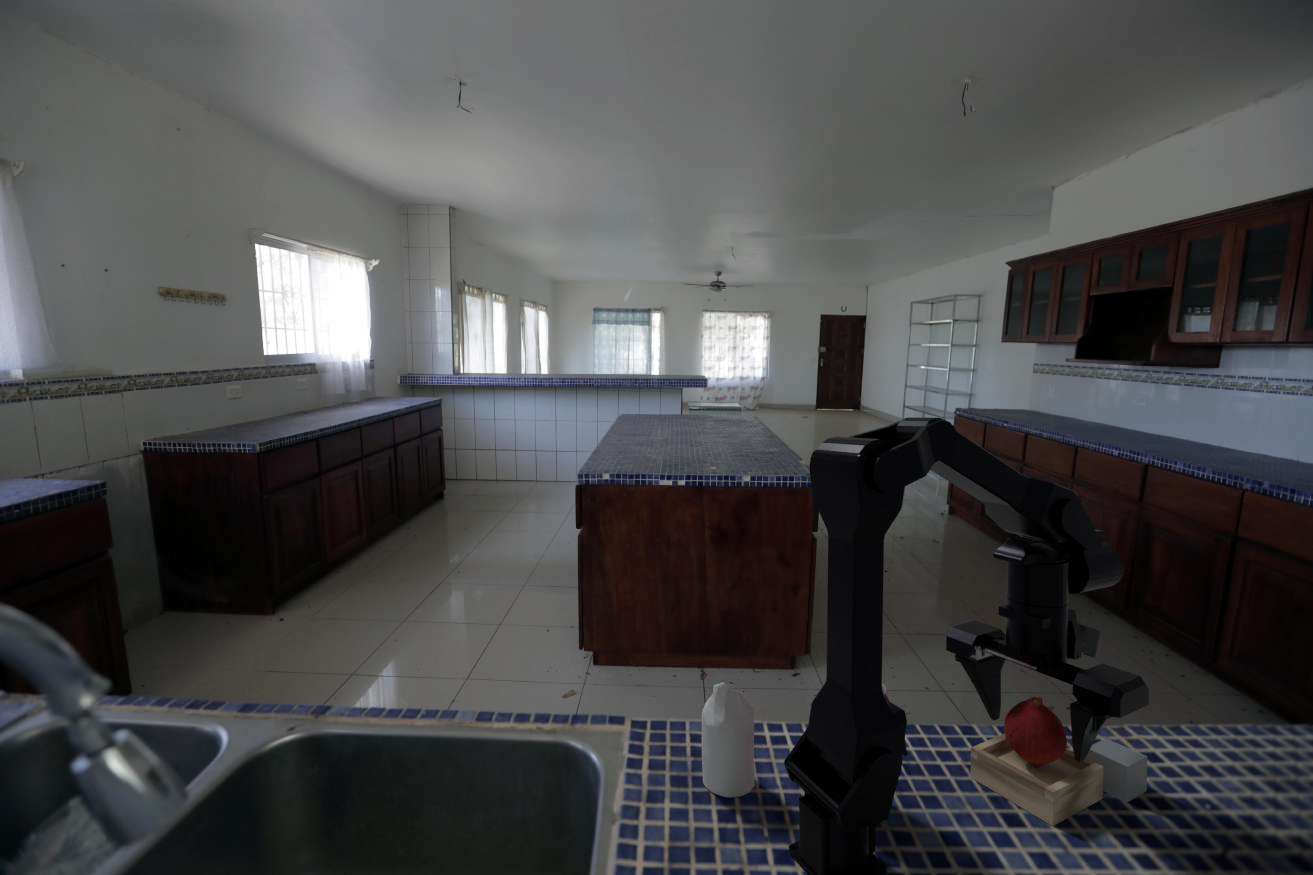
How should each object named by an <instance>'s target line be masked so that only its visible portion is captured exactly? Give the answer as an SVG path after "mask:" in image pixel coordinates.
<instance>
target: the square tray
mask: <svg viewBox="0 0 1313 875" xmlns="http://www.w3.org/2000/svg"><path fill="white" fill-rule="evenodd" d="M1103 768H1104V767H1103V766H1101V765H1099V764H1097V763H1094V762H1092V761H1090V760H1088V759H1086V758H1085V759H1084V760H1083V761H1081V762H1078V761H1076V760H1075V756H1074V752H1073V751H1072V750H1070V749H1067V748H1066V750H1065V752H1064V753H1063V755H1062V756H1061V757H1060V758H1059V759H1058V760H1056V761H1054V762H1051V763H1048V764H1045V765H1043V766H1041V767H1034V766H1033V765H1031V764H1030V763H1029V762H1027V761H1026V760H1024V759H1023V758H1022V757H1020V756H1019V755H1018V754H1017V753H1016V752H1015V751H1014V750H1013V749H1012V748H1011V747H1010V745H1009V744H1008V742H1007V740H1006V738H1005V733H1003V734H1000V735H998V736H995V737H993V738H991V739H988V740H985V741H983V742H980V743H978V744H976V745H974V746H971V747H970V778H971V779H973V780H974V781H976V782H978V783H979V784H981V785H982V786H985V787H987V789H989V790H991V791H993V792H995V793H997V794H998V795H1000V796H1001V797H1003V798H1005V799H1007V801H1010V802H1011V803H1013V804H1014V805H1017V806H1018V807H1020V808H1021V809H1023V810H1025V811H1026V812H1028V813H1030V814H1031V815H1033V816H1035V817H1037V818H1039V819H1040V820H1042V821H1043V822H1045V823H1047V824H1048V825H1050V826H1051V827H1054V826H1056V825H1057V824H1060V823H1061V822H1063V821H1065V820H1067V819H1069V818H1071V817H1072V816H1074V815H1076V814H1077V813H1079V812H1081V811H1084V810H1085V809H1086V808H1089V807H1091V806H1092V805H1093V804H1095V803H1097V802H1099V801H1101V800H1102V799H1104V791H1103Z"/></svg>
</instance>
